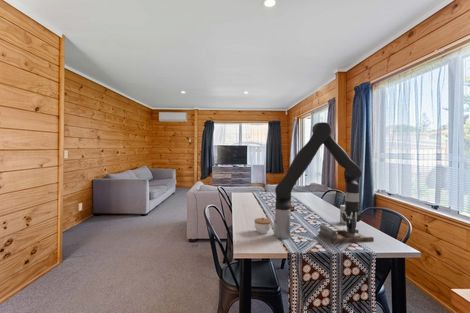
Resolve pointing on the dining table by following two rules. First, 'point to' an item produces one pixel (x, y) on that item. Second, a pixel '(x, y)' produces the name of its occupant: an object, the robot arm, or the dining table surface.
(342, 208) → the supplement box
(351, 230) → the press jaw
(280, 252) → the dining table surface
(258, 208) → the dining table surface
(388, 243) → the dining table surface
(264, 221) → the lidded jar
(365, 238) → the press base
